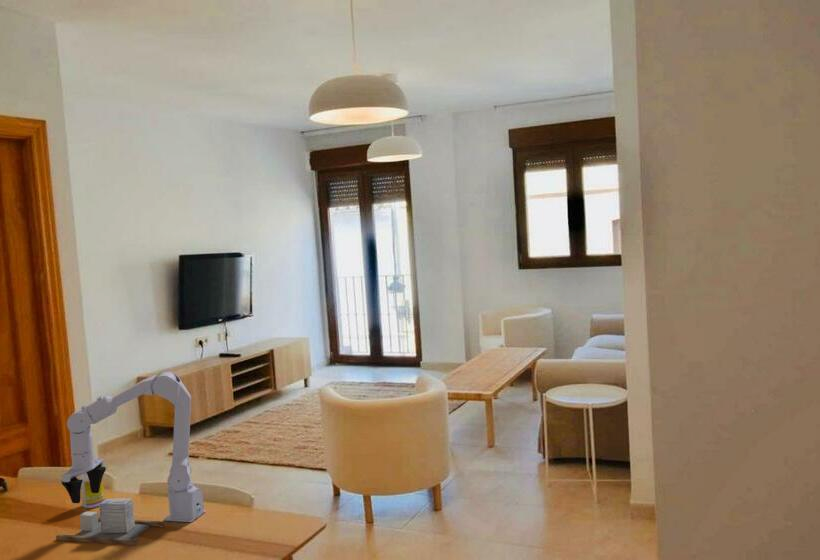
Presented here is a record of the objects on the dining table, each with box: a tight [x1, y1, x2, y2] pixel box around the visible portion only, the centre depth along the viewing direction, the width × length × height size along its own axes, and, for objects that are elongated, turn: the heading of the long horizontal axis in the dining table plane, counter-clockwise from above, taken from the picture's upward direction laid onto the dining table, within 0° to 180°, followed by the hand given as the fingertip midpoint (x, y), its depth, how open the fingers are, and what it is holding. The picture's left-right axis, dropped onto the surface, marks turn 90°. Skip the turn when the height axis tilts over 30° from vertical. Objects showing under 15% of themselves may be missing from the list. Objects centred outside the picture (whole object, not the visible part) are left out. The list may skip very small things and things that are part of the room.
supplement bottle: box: [79, 473, 106, 509], centre depth 207 cm, size 7×7×13 cm
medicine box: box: [98, 497, 135, 533], centre depth 184 cm, size 8×4×9 cm, turn 84°
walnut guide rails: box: [55, 517, 164, 546], centre depth 185 cm, size 26×13×1 cm, turn 76°
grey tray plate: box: [74, 511, 150, 539], centre depth 185 cm, size 18×9×5 cm, turn 76°
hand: (85, 497), depth 186 cm, fingers open, 7 cm apart
